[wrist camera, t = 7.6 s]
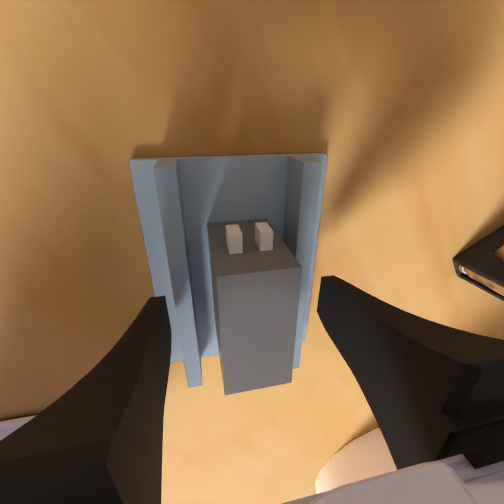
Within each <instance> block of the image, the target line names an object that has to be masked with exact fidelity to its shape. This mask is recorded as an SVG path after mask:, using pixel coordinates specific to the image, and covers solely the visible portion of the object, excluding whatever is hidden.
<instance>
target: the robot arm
mask: <svg viewBox="0 0 504 504" xmlns="http://www.w3.org/2000/svg"><path fill="white" fill-rule="evenodd" d="M317 313H318V315H319V317H320V319H321V322H322V324H323V326H324V328H325V330H326V331H327V333H328V335H329V336H330V338H331V339H332V341H333V343H334V344H335V346H336V347H337V349H338V350H339V352H340V354H341V355H342V357H343V358H344V360H345V361H346V363H347V364H348V366H349V368H350V369H351V371H352V373H353V374H354V376H355V378H356V380H357V382H358V384H359V386H360V388H361V390H362V392H363V394H364V396H365V398H366V400H367V402H368V404H369V406H370V408H371V410H372V412H373V414H374V417H375V419H376V421H377V423H378V425H379V428H380V430H381V432H382V435H383V437H384V439H385V441H386V444H387V446H388V449H389V451H390V454H391V456H392V458H393V461H394V463H395V466H396V468H397V470H395V471H392V472H388V473H385V474H381V475H377V476H374V477H370V478H366V479H363V480H359V481H356V482H352V483H348V484H345V485H342V486H339V487H337V488H334V489H332V490H329V491H326V492H322V493H319V494H315V495H311V496H308V497H304V498H301V499H297V500H293V501H290V502H286V503H283V504H504V340H501V339H496V338H491V337H486V336H481V335H477V334H473V333H470V332H466V331H462V330H458V329H455V328H451V327H448V326H445V325H441V324H438V323H435V322H432V321H429V320H426V319H424V318H421V317H418V316H416V315H413V314H411V313H408V312H406V311H403V310H401V309H399V308H396V307H394V306H392V305H390V304H388V303H386V302H384V301H382V300H380V299H378V298H376V297H374V296H372V295H370V294H368V293H366V292H364V291H362V290H360V289H359V288H357V287H355V286H353V285H351V284H349V283H348V282H346V281H344V280H342V279H340V278H338V277H336V276H325V277H321V284H320V292H319V299H318V306H317ZM171 344H172V331H171V326H170V320H169V314H168V309H167V303H166V297H165V296H157V297H150V298H149V299H148V301H147V302H146V304H145V305H144V307H143V308H142V310H141V311H140V313H139V314H138V316H137V317H136V319H135V320H134V321H133V323H132V324H131V325H130V327H129V328H128V330H127V331H126V332H125V333H124V335H123V336H122V337H121V338H120V340H119V341H118V342H117V343H116V344H115V346H114V347H113V348H112V349H111V350H110V351H109V352H108V354H107V355H106V356H105V357H104V358H103V359H102V360H101V361H100V362H99V363H98V364H97V365H96V366H95V367H94V368H93V369H92V370H91V371H90V372H89V373H88V374H87V375H85V376H84V377H83V378H82V379H81V380H80V381H79V382H78V383H77V384H75V385H74V386H73V387H72V388H71V389H70V390H69V391H67V392H66V393H65V394H64V395H62V396H61V397H60V398H59V399H57V400H56V401H55V402H54V403H52V404H51V405H50V406H48V407H47V408H46V409H45V410H43V411H42V412H41V413H39V414H38V415H34V416H28V417H23V418H17V419H12V420H6V421H1V422H0V504H161V478H162V440H163V415H164V404H165V397H166V389H167V382H168V375H169V367H170V360H171Z"/></svg>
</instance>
